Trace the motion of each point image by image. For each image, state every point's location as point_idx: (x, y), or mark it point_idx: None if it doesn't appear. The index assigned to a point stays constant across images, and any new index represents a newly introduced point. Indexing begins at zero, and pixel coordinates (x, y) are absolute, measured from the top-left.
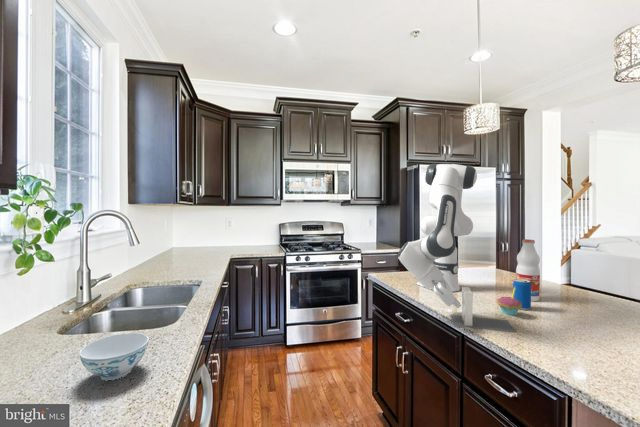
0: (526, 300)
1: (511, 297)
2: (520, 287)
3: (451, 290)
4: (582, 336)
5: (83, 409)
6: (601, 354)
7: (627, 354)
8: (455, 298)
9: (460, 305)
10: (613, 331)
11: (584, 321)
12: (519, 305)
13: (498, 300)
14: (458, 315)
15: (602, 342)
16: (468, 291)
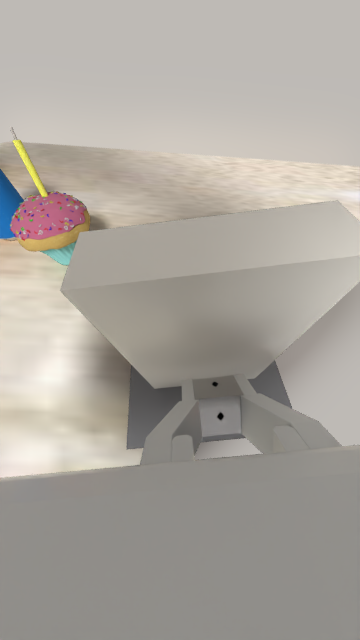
0: (19, 196)
1: (35, 196)
2: None
3: (137, 485)
4: (180, 181)
5: None
6: (254, 174)
7: (232, 160)
8: (188, 414)
9: (243, 377)
10: (138, 160)
11: (99, 174)
12: (81, 202)
13: (37, 235)
14: (129, 403)
15: (196, 170)
16: (295, 229)
